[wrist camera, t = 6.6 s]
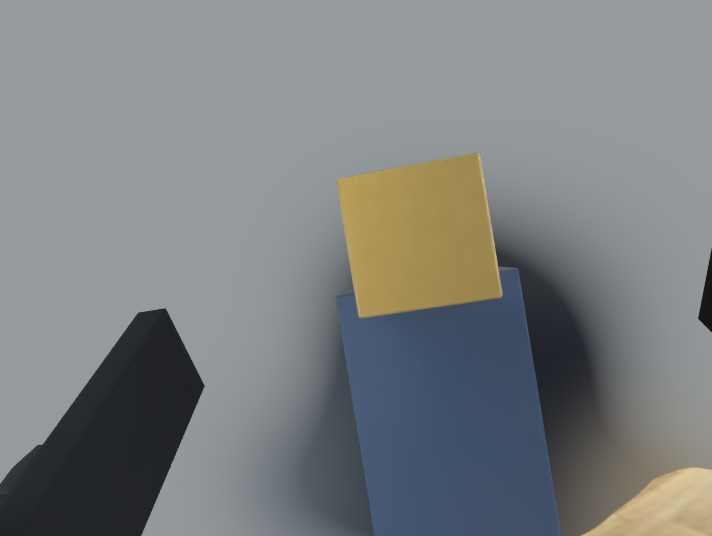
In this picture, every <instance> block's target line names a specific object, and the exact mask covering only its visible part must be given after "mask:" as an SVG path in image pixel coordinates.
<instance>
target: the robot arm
mask: <svg viewBox="0 0 712 536" xmlns="http://www.w3.org/2000/svg"><path fill="white" fill-rule="evenodd" d="M698 319H699V320H700V321H701V322H702V323H703V324H704V325H705V326H706V327H707V328H708V329H709V330H710V331H711V332H712V250H711V255H710V260H709V265H708V271H707V276H706V281H705V286H704V291H703V297H702V302H701V307H700V312H699V317H698ZM203 388H204V384H203V382H202V380H201V378H200V376H199V374H198V372H197V370H196V368H195V366H194V364H193V362H192V360H191V358H190V356H189V354H188V352H187V350H186V348H185V346H184V344H183V342H182V340H181V338H180V336H179V334H178V332H177V330H176V328H175V326H174V324H173V322H172V320H171V318H170V316H169V314H168V312H167V310H166V309H158V310H152V311H146V312H140V313H138V314H137V315H136V316H135V318H134V319H133V321H132V322H131V324H130V325H129V326H128V328H127V329H126V330H125V332H124V333H123V334H122V336H121V337H120V339H119V340H118V342H117V343H116V344H115V346H114V347H113V348H112V350H111V351H110V353H109V354H108V355H107V357H106V358H105V359H104V361H103V362H102V364H101V365H100V366H99V368H98V369H97V370H96V372H95V373H94V375H93V376H92V377H91V379H90V380H89V382H88V383H87V384H86V386H85V387H84V389H83V390H82V391H81V393H80V394H79V395H78V397H77V398H76V399H75V401H74V402H73V404H72V405H71V407H70V408H69V409H68V411H67V412H66V413H65V415H64V416H63V417H62V419H61V420H60V422H59V423H58V424H57V426H56V427H55V429H54V430H53V431H52V433H51V434H50V435H49V437H48V438H47V440H46V441H45V442H44V444H43V445H37V446H36V447H35V448H34V449H33V450H32V451H31V452H29V453H28V454H27V455H26V456H25V457H24V458H23V459H22V460H21V461H20V462H18V463H17V464H16V465H15V466H14V467H13V468H12V469H11V471H10V472H9V473H8V474H7V476H6V477H5V478H4V480H3V481H2V482H1V484H0V536H141V535H142V533H143V530H144V528H145V525H146V523H147V521H148V518H149V516H150V514H151V511H152V509H153V507H154V504H155V502H156V499H157V497H158V495H159V492H160V490H161V488H162V485H163V483H164V481H165V478H166V476H167V473H168V471H169V469H170V466H171V464H172V462H173V459H174V457H175V455H176V452H177V450H178V448H179V445H180V443H181V440H182V438H183V435H184V433H185V431H186V428H187V426H188V424H189V422H190V419H191V417H192V414H193V412H194V410H195V407H196V405H197V403H198V400H199V398H200V395H201V393H202V391H203Z"/></svg>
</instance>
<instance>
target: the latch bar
mask: <svg viewBox="0 0 712 536" xmlns="http://www.w3.org/2000/svg"><path fill="white" fill-rule="evenodd" d="M337 187H338V193H339V200H340V206H341V212H342V218H343V225H344V231H345V237H346V243H347V249H348V256H349V262H350V268H351V274H352V280H353V286H354V293H355V299H356V305H357V311H358V316H359V318H368V317H375V316H382V315H389V314H395V313H402V312H409V311H416V310H423V309H430V308H436V307H443V306H450V305H457V304H464V303H470V302H477V301H484V300H491V299H498V298H501V297H502V295H503V294H502V288H501V282H500V276H499V270H498V264H497V258H496V252H495V245H494V239H493V233H492V227H491V221H490V214H489V209H488V203H487V196H486V190H485V184H484V177H483V171H482V165H481V159H480V155H479V154H478V153H473V154H468V155H462V156H457V157H452V158H447V159H442V160H436V161H431V162H426V163H420V164H415V165H410V166H404V167H399V168H394V169H389V170H383V171H378V172H373V173H367V174H362V175H357V176H351V177H346V178H341V179H338V180H337Z"/></svg>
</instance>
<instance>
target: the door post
mask: <svg viewBox="0 0 712 536" xmlns="http://www.w3.org/2000/svg"><path fill="white" fill-rule="evenodd" d="M498 270H499V276H500V282H501V288H502V294H503V295H502V297H501V298H498V299H491V300H484V301H477V302H470V303H464V304H457V305H450V306H443V307H436V308H430V309H423V310H416V311H409V312H402V313H395V314H389V315H382V316H375V317H368V318H359V316H358V311H357V305H356V299H355V293H354V289H352V290H350V291H347V292H345V293H343V294H341V295H338V296H336V301H337V307H338V314H339V320H340V327H341V333H342V339H343V345H344V351H345V357H346V364H347V370H348V376H349V382H350V388H351V395H352V401H353V407H354V413H355V420H356V426H357V432H358V438H359V444H360V451H361V457H362V462H363V469H364V475H365V481H366V488H367V494H368V500H369V506H370V512H371V519H372V525H373V531H374V536H561V530H560V524H559V518H558V513H557V506H556V500H555V494H554V488H553V481H552V475H551V469H550V463H549V457H548V450H547V444H546V438H545V432H544V426H543V420H542V414H541V408H540V401H539V395H538V389H537V383H536V377H535V370H534V364H533V358H532V352H531V346H530V340H529V334H528V327H527V321H526V315H525V310H524V303H523V297H522V291H521V284H520V278H519V272H518V269H517V268H507V267H498Z"/></svg>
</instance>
